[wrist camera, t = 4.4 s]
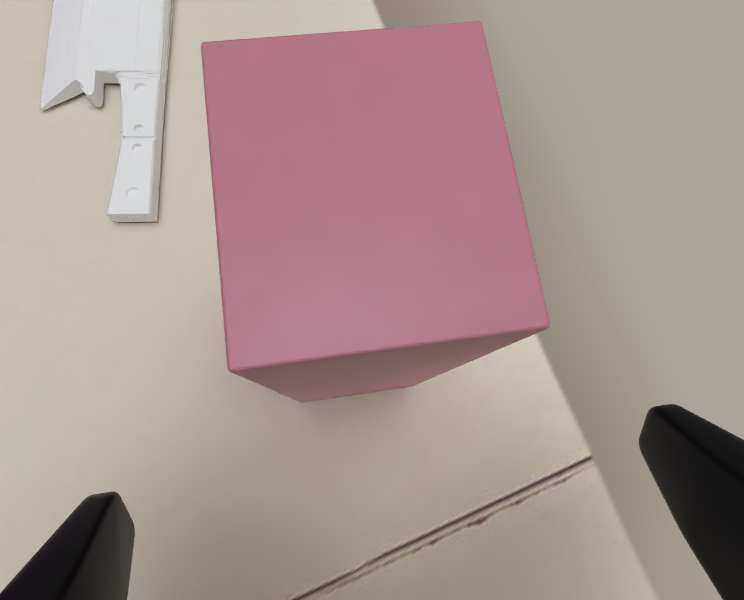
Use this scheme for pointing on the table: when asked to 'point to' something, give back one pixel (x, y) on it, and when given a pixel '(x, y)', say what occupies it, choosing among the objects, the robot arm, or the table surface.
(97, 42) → the butcher knife
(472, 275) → the pink box
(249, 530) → the table surface
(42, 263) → the table surface
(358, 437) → the table surface
